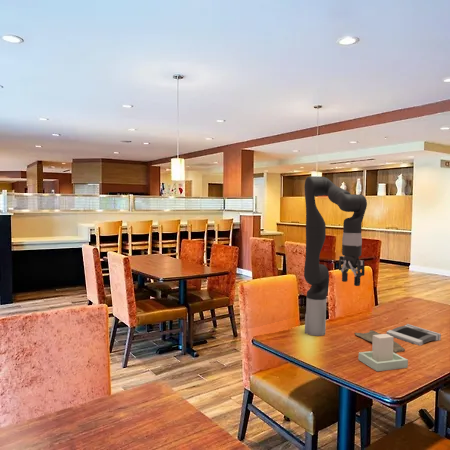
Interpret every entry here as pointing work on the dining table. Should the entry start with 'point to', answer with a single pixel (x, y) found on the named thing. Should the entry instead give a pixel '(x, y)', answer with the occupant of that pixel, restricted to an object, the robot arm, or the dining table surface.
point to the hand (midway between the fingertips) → (350, 283)
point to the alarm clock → (414, 334)
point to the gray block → (382, 347)
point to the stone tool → (370, 334)
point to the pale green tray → (383, 362)
